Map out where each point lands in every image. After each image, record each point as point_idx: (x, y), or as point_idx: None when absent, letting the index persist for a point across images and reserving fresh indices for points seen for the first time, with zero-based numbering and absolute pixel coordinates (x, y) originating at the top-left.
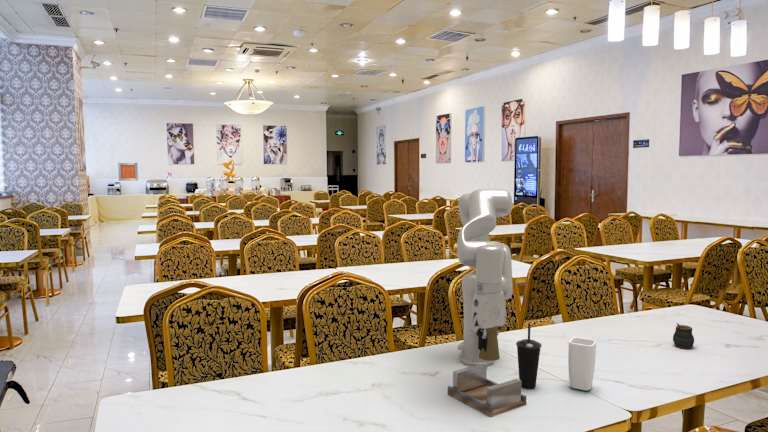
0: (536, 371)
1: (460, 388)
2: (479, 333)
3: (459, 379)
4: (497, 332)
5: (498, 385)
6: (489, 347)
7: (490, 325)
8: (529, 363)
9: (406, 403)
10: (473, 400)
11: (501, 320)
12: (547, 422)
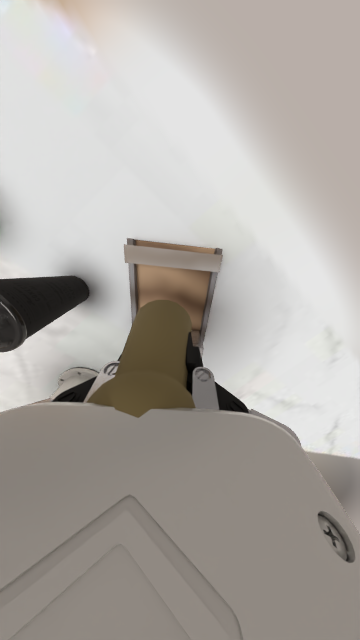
0: (39, 277)
1: (193, 332)
2: (234, 400)
3: (197, 341)
4: (104, 375)
5: (189, 262)
6: (182, 332)
7: (204, 434)
8: (41, 287)
9: (258, 350)
10: (212, 293)
11: (10, 469)
12: (158, 147)
